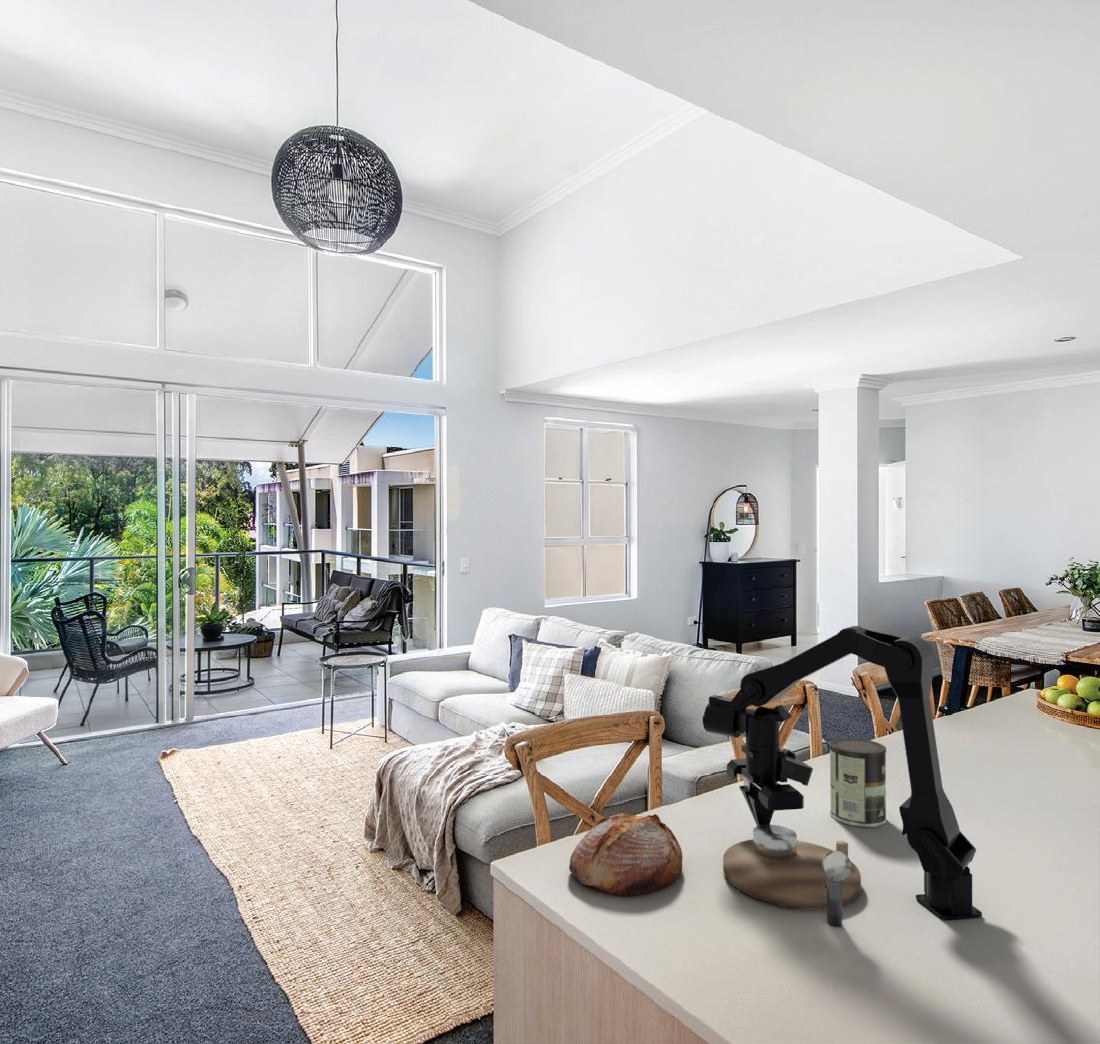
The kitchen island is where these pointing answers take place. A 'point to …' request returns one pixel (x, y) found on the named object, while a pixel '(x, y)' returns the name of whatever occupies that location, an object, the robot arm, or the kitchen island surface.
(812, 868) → the disc
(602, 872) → the bread
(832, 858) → the ice cream scoop
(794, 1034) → the kitchen island surface
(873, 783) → the coffee can
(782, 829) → the cover
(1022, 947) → the kitchen island surface
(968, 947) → the kitchen island surface
